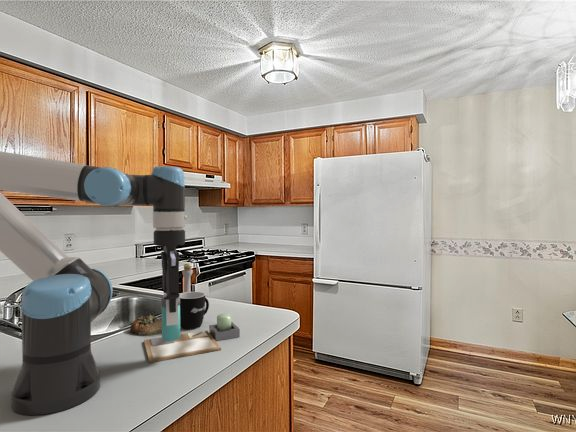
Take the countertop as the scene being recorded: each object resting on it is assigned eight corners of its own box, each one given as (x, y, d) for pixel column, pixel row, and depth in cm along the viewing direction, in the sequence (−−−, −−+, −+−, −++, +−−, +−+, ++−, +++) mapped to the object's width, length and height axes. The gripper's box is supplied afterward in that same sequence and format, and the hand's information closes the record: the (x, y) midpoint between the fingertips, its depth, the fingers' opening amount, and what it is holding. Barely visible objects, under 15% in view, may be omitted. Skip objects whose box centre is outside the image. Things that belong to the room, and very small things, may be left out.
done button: (219, 332, 104) (219, 319, 103) (215, 328, 107) (215, 315, 107) (233, 330, 105) (233, 317, 105) (228, 326, 109) (228, 313, 109)
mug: (189, 333, 108) (189, 300, 108) (170, 327, 113) (170, 295, 112) (217, 322, 118) (217, 292, 118) (198, 317, 123) (198, 288, 122)
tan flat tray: (149, 362, 87) (149, 359, 87) (143, 341, 100) (143, 339, 100) (221, 350, 95) (221, 347, 95) (207, 332, 109) (207, 329, 109)
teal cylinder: (162, 342, 87) (162, 301, 86) (160, 336, 91) (160, 297, 90) (181, 339, 89) (181, 299, 88) (179, 333, 93) (178, 295, 92)
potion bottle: (192, 309, 132) (192, 261, 132) (204, 315, 126) (204, 264, 125) (169, 314, 126) (169, 264, 126) (181, 320, 120) (181, 267, 119)
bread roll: (124, 328, 112) (127, 312, 112) (160, 325, 119) (162, 310, 119) (134, 339, 103) (137, 322, 103) (171, 336, 110) (174, 320, 110)
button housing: (215, 341, 102) (215, 332, 101) (209, 333, 108) (209, 325, 108) (239, 337, 105) (239, 329, 105) (232, 329, 111) (232, 321, 111)
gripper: (191, 230, 83) (192, 330, 83) (179, 226, 98) (180, 310, 99) (157, 231, 79) (158, 335, 80) (150, 227, 95) (152, 314, 96)
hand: (170, 321), depth 89 cm, fingers closed on teal cylinder, 4 cm apart
